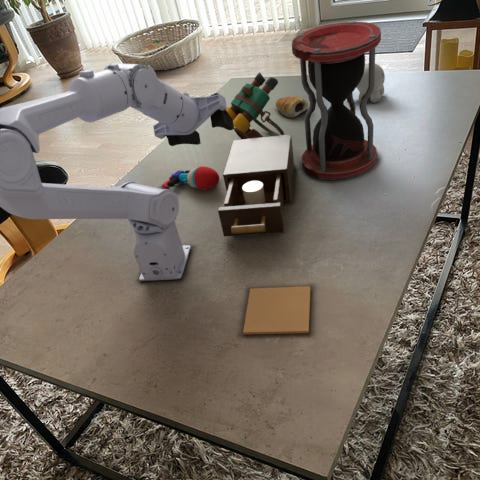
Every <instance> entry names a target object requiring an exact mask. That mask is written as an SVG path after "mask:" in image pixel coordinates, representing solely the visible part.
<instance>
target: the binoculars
mask: <svg viewBox="0 0 480 480" xmlns="http://www.w3.org/2000/svg"><path fill="white" fill-rule="evenodd" d="M278 84H279V81H278V79H277V78H276V77H273V76H272V77H271V76H270V77H268V78H267V80H266V78H265V77H264V76H263V74H262V73H261V72H258V73H257V75H255V77H254V79H253V81H252V82H251V83H248V82H247V83H245V84H244V86H242V87H241V89H240V91H238V93H236V95H235V96H234V98H233V99H232V100H231V102H230V105H231V106H230V107H227V106H226V107H227V109H226V111H227V112H228V114H229V115H230V116H231V118H232V119H233V124H234V129H233V131H234V133H235V134H236V135H237V136H238V138H240V140H242V139H251V138H261V137H264V136H263V135H262V134H261V133H260V132H259V131H258V130H257V129H254V128H252V129H251V123H252V121H253V122H254V123H255V124H256V125H257V126H258V127H260V128H261V129H262V130H264V131H265V132H267V133H269V134H270V135H272V136H280V135H286V134H285V132H284V130H283V129H282V128H281V127H280V125H278V124H277V123H276V122H275V121H274V120H272V119H271V117H270V116H271V112H270V111H267V110H264V108H265V107H266V105H267V104H268V103H269V101H270V99H271V98H270V93H271V92H272V91H274V89H275V88H276V86H277V85H278ZM261 86H263V87H262V88H260V87H261ZM240 113H242V114H240ZM266 114H268V115H267V116H266V117H265V118H264V116H265V115H266ZM258 117H260V120H261V121H259V120H258ZM263 118H264V119H263ZM266 122H267V123H268V124H270V125H271V126H273V128H274V129H276V130H277V132H278V133H277V132H275V131H273V130H272V129H271V128H269V127H267V126H266V125H264V123H266Z"/></svg>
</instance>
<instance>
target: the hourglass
mask: <svg viewBox="0 0 480 480" xmlns="http://www.w3.org/2000/svg"><path fill="white" fill-rule="evenodd" d="M381 41H382V31H381V28H380V27H379V25H376V24H374V23H370V22H366V21H356V20H353V21H341V22H334V23H327V24H324V25H320V26H319V25H318V26H316V27H312V28H310V29H308V30H305V31H303V32H301V33H299V34H298V35H297V36H295V38H293V40H292V41H291V54H292V55H293V56H294V57H295V58H296V59H299V64H300V76H301V77H300V78H301V79H300V80H301V85H302V88H303V90H304V92H305V93H306V94H307V97H308V100H309V106H308V109H307V110H306V113H305V116H304V130H305V142H306V149H305V150H304V152H303V153H302V154H301V167H302V169H303V170H304V172H305V173H306V174H308V175H309V176H311V177H314V178H317V179H320V180H329V181H336V180H337V181H338V180H346V179H347V180H348V179H351V178H355V177H357V176H360V175H363V174H364V173H366V172H368V171H370V170H371V169H372V168H373V167H374V166H375V164H376V163H377V160H378V151H377V146H375V145H374V123H373V120H372V118H371V116H370V115H369V113H368V108H367V103H368V101H369V100H368V98H369V99H370V96H371V94H372V93H373V90H374V84H375V64H376V48H377V47H378V46H379V44H380V42H381ZM366 53H368V63H369V86H368V89H367V91H366V93H365V94H364V95H363V96H362V98H361V102H359V105H358V108H359V112H360V115H361V117H362V118H363V120H364V121H365V124H366V126H367V140H366V139H365V131H364V125H363V123H362V121H361V120H360V118H359V117H358V116H357V115H356V109H357V108H356V102H355V99H354V96H353V93H354V91H355V90H356V89H357V88H356V87H357V86H358V84H359V83H360V81H361V79H362V77H363V75H364V69H365V65H366V55H365V54H366ZM308 78H309V79H308ZM308 80H309V82H310V84H311V85H312V87H313V89H314V90H315V92H314V90H313V89H312V88H311V86H310V84H309V82H308ZM324 99H325V101H326V102H328V103H330V106H329V108H327V106H326V105H325V102H324ZM367 100H368V101H367ZM345 101H346V102H347V103H348V106H349V107H347V105H345V103H344V102H345ZM316 107H318V108H319V110H320V119H319V120H318V121H317V123H316V124H315V125H314V129H313V133H312V132H311V130H312V129H311V117H312V114H313V113H314V112H315V111H316Z"/></svg>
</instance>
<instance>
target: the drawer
mask: <svg viewBox="0 0 480 480" xmlns="http://www.w3.org/2000/svg"><path fill="white" fill-rule="evenodd" d="M250 181H260V182H262V183H263V187H264V194H265V200H266V204H254V205H245V201H244V195H243V190H242V187H243V185H244V184H245V183H247V182H250ZM283 200H284V185H283V176H282V173H278V174H267V175H255V176H244V177H233V178H231V179H230V183H229V187H228V191H226V194H225V199H224V202H223V206H218V209H217V212H218V213H217V214H218V218H219V221H220V227H221V229H222V235H223V237H238V236H256V235H269V234H283V233H285V226H284V217H283V207H284V204H283Z"/></svg>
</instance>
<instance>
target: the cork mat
mask: <svg viewBox="0 0 480 480" xmlns="http://www.w3.org/2000/svg"><path fill="white" fill-rule="evenodd" d="M311 290H312V289H311V286H310V285H305V286H277V287H260V288H259V287H255V288H254V287H253V288H251V287H250V289H249V294H248V301H247V306H246V310H245V311H246V313H245V317H244V325H243V330H242V334H243V335H283V334H284V335H289V334H310V316H311V315H310V314H311Z"/></svg>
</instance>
